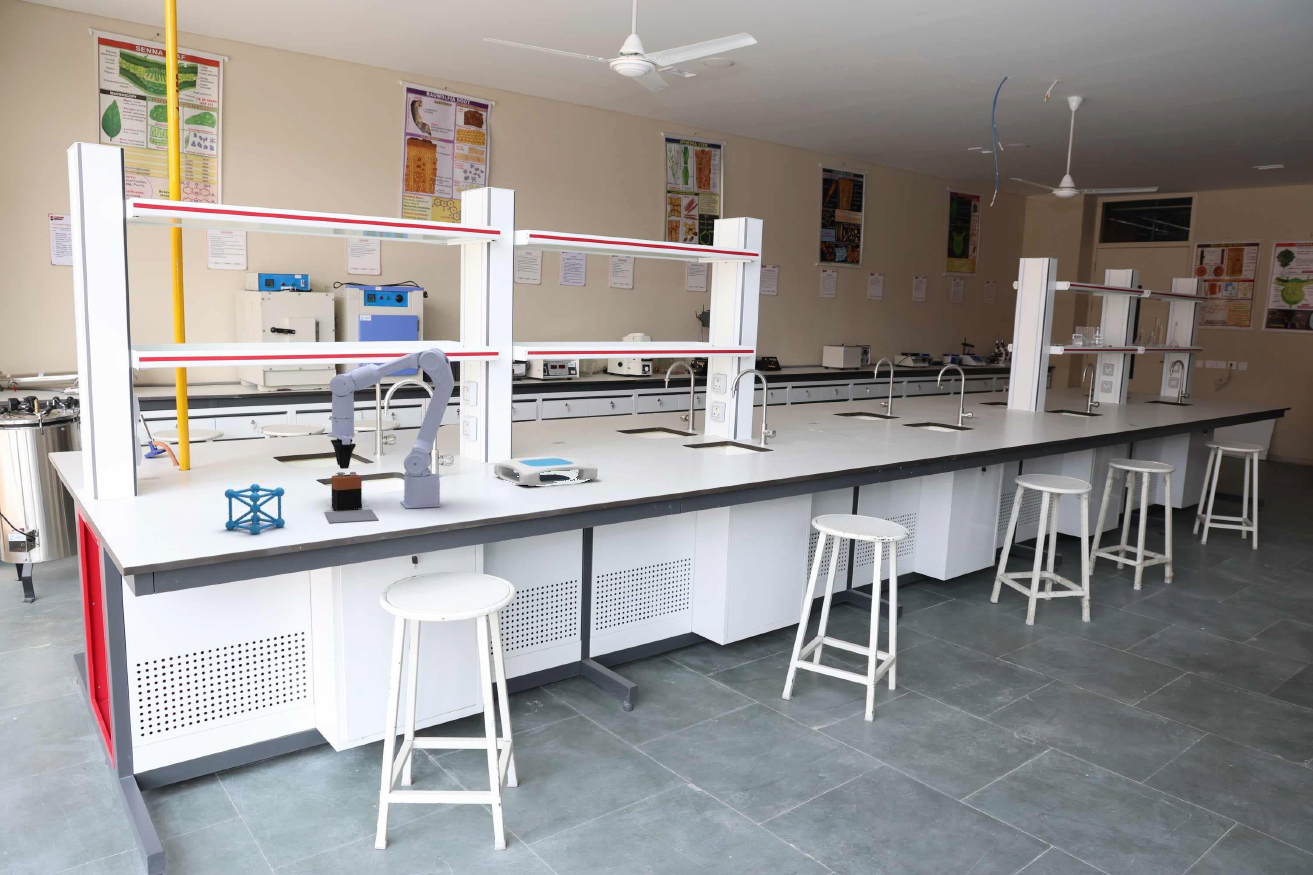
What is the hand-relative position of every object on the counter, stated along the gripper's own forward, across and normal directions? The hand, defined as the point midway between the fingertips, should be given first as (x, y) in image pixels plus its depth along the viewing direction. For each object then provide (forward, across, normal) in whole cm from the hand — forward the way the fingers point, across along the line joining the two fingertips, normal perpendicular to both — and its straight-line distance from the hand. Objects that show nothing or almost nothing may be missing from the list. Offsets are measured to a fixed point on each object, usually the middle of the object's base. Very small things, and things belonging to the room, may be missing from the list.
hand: (343, 466), depth 243 cm
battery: (+10, +8, 0) cm, 13 cm away
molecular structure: (+11, +23, -23) cm, 34 cm away
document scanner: (+11, -22, +67) cm, 71 cm away
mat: (+10, +16, 0) cm, 20 cm away
